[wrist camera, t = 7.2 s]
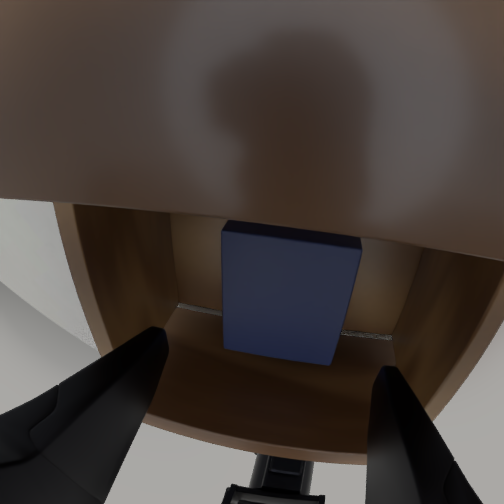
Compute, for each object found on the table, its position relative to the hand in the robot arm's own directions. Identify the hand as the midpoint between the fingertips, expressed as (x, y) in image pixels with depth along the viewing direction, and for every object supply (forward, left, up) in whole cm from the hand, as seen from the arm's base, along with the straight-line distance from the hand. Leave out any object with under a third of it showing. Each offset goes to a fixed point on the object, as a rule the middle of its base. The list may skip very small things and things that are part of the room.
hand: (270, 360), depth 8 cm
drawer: (-1, 0, -6) cm, 7 cm away
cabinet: (+12, 0, -7) cm, 14 cm away
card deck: (-1, 0, -5) cm, 5 cm away
